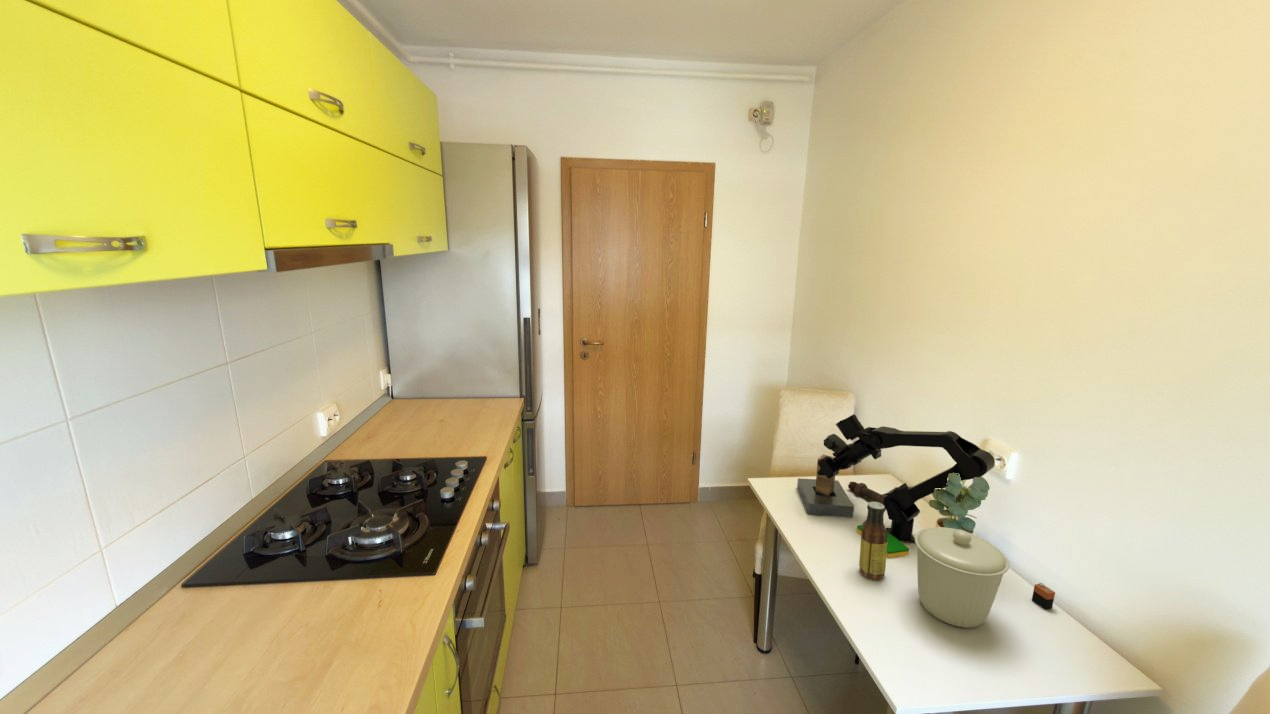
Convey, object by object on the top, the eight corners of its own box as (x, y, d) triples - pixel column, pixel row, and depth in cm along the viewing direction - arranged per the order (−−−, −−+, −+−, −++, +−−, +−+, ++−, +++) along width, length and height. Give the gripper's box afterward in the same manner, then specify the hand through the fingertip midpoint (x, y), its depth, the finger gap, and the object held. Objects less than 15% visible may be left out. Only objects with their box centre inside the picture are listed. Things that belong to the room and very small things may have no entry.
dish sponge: (875, 529, 146) (876, 522, 146) (909, 556, 133) (910, 548, 133) (855, 532, 145) (856, 525, 145) (887, 559, 132) (888, 552, 131)
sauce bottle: (887, 572, 126) (895, 505, 122) (880, 584, 121) (888, 514, 117) (861, 562, 130) (868, 496, 126) (853, 573, 126) (861, 505, 121)
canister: (1003, 610, 112) (1018, 531, 108) (990, 655, 100) (1006, 567, 95) (918, 575, 125) (928, 502, 120) (897, 611, 112) (907, 531, 108)
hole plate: (853, 517, 152) (854, 506, 151) (808, 514, 154) (809, 503, 153) (837, 490, 170) (838, 480, 169) (797, 488, 171) (797, 478, 171)
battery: (1038, 599, 116) (1041, 581, 115) (1052, 608, 113) (1056, 590, 112) (1030, 600, 115) (1034, 582, 114) (1045, 610, 112) (1049, 592, 111)
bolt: (851, 494, 171) (888, 512, 158) (843, 490, 169) (879, 508, 156) (858, 479, 171) (895, 496, 158) (849, 475, 169) (886, 492, 156)
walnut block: (828, 495, 158) (831, 462, 155) (815, 491, 161) (817, 458, 159) (833, 490, 161) (836, 458, 159) (820, 486, 164) (823, 454, 162)
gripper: (855, 423, 159) (823, 444, 169) (825, 436, 147) (792, 457, 158) (877, 452, 154) (842, 472, 165) (847, 468, 143) (812, 488, 154)
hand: (822, 471), depth 161 cm, fingers closed on walnut block, 5 cm apart
